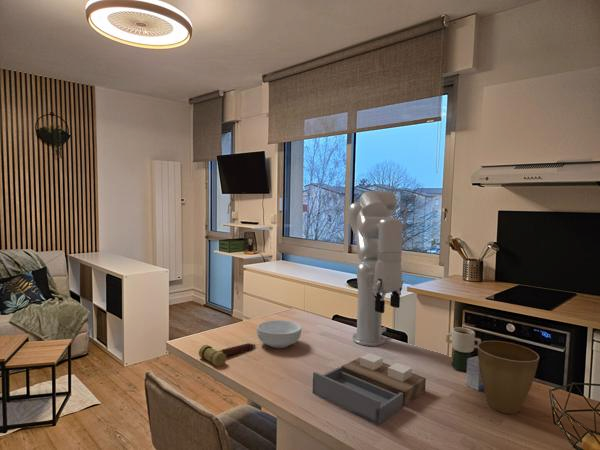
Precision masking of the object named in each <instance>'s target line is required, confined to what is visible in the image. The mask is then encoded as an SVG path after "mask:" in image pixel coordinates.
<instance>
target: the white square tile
mask: <svg viewBox="0 0 600 450" xmlns="http://www.w3.org/2000/svg"><path fill="white" fill-rule="evenodd" d="M359 358H360V365H361V366H364V367H366V368H369V369H371V370H375V369H377V368H379V367H381V366H382V364H383V363H384V361H383V360H384V358H383V357H381V356H379V355H376V354H374V353H370V352H369V353H366V354H365V355H362V356H360V357H359Z"/></svg>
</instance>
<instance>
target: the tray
mask: <svg viewBox="0 0 600 450" xmlns="http://www.w3.org/2000/svg"><path fill="white" fill-rule="evenodd" d="M312 394H314V395H316V396H318V397H320V398H322V399H324V400H327V401H328V402H330V403H332V404H334V405H335V406H338V407H340V408H342V409H343V410H347V411H348V412H351V413H352V414H354V415H357V416H358V417H360V418H362V419H364V420H366V421H369V422H370V423H373V424H374V425H377V426H379V425H380V424H382V423H383V422H384V421H386V420H388V419H389V418H390V417H392V416H393V415H394V414H396V413H397V412H399V411H400V410H401V409H403V407H404V406H403V393H401V392H400V393H399V394H395V393H393V392H390V391H388V390H385V389H383V388H381V387H378V386H376V385H373V384H371V383H369V382H366V381H364V380H361V379H359V378H356V377H354V376H352V375H349V374H347V373H344V372H342V371H341V366H340V367H337V368H334V369H333V370H332V369H331V370H330V371H328V372H325V373H324V374H321V373H319V372H317V371H314V372H313V373H312Z"/></svg>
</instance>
